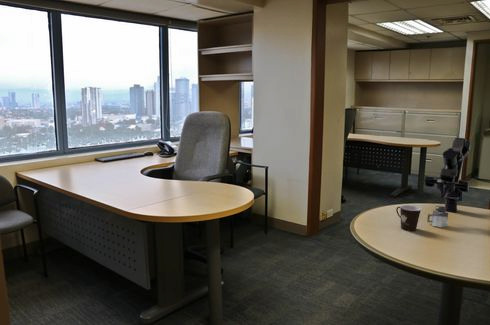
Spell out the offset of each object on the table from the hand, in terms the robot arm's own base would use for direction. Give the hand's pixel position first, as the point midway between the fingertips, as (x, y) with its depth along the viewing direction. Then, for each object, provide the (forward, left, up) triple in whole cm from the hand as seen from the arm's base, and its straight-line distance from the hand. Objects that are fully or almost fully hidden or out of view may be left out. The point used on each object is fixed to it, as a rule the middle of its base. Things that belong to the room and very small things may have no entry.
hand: (442, 198), depth 185 cm
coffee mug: (+12, -13, -13) cm, 22 cm away
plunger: (+1, 0, -12) cm, 12 cm away
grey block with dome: (+1, 0, -13) cm, 13 cm away
